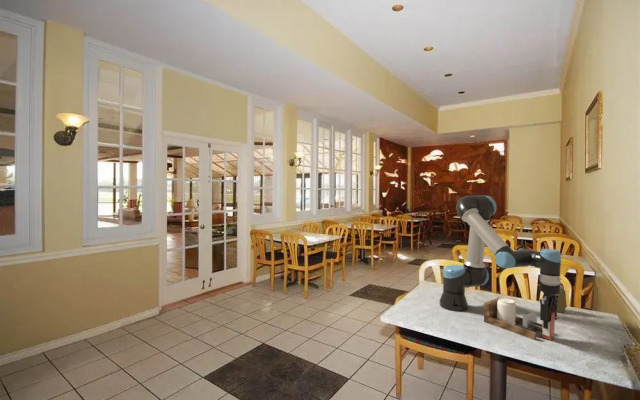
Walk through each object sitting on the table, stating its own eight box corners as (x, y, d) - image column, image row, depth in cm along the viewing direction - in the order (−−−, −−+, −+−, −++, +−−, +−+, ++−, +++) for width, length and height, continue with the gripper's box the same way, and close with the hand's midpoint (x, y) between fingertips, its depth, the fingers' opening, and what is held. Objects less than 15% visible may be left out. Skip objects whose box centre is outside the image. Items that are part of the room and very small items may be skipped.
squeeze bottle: (551, 312, 177) (552, 280, 176) (546, 307, 184) (547, 276, 184) (568, 314, 174) (569, 281, 173) (563, 309, 181) (564, 278, 181)
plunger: (522, 332, 151) (523, 307, 151) (531, 328, 156) (532, 303, 156) (547, 341, 142) (548, 315, 142) (557, 336, 147) (557, 310, 147)
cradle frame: (483, 321, 164) (484, 302, 164) (498, 315, 172) (498, 297, 172) (534, 339, 145) (535, 318, 144) (548, 332, 152) (548, 311, 152)
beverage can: (517, 327, 157) (518, 303, 157) (500, 326, 159) (500, 302, 158) (511, 321, 165) (512, 298, 165) (494, 319, 167) (495, 297, 166)
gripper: (551, 288, 138) (549, 342, 139) (567, 282, 147) (565, 332, 148) (532, 284, 144) (530, 335, 145) (548, 278, 153) (546, 326, 154)
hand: (548, 333), depth 146 cm, fingers closed on plunger, 3 cm apart
